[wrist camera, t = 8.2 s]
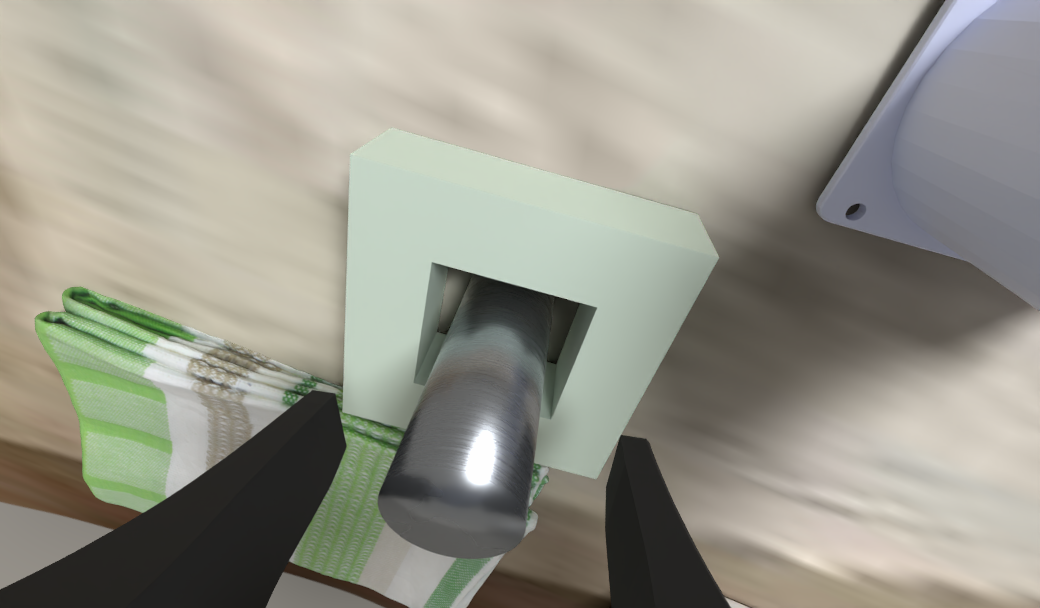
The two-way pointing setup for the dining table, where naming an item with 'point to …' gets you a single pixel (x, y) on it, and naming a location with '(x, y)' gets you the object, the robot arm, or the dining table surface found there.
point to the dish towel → (233, 439)
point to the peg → (474, 428)
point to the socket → (512, 282)
